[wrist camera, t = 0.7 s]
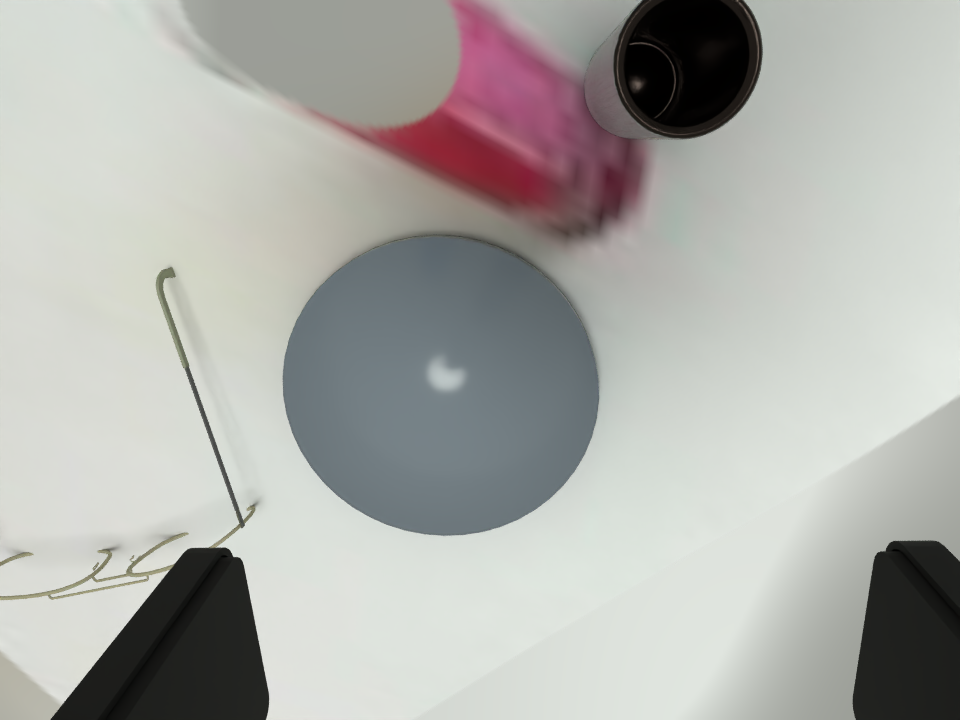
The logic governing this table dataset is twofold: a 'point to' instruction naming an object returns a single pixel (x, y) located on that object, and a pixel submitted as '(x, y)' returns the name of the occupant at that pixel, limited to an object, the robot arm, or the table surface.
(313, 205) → the table surface
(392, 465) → the dish
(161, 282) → the eyeglasses
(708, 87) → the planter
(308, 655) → the table surface
